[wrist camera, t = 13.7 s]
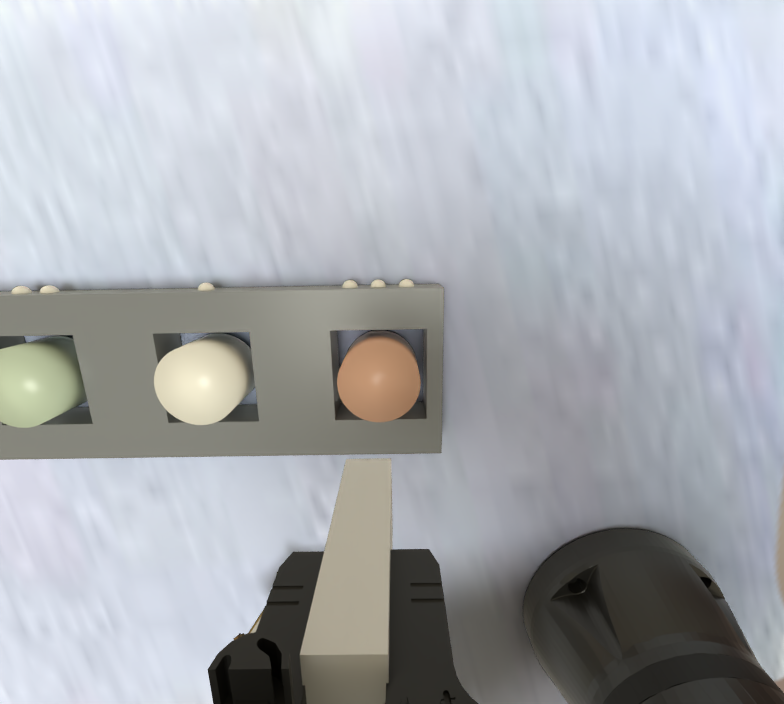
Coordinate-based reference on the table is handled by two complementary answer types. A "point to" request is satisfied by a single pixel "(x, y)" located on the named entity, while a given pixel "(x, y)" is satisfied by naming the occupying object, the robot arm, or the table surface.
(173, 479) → the table surface
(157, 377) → the button one
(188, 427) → the console
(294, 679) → the robot arm
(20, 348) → the button two
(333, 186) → the table surface
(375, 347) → the button three
